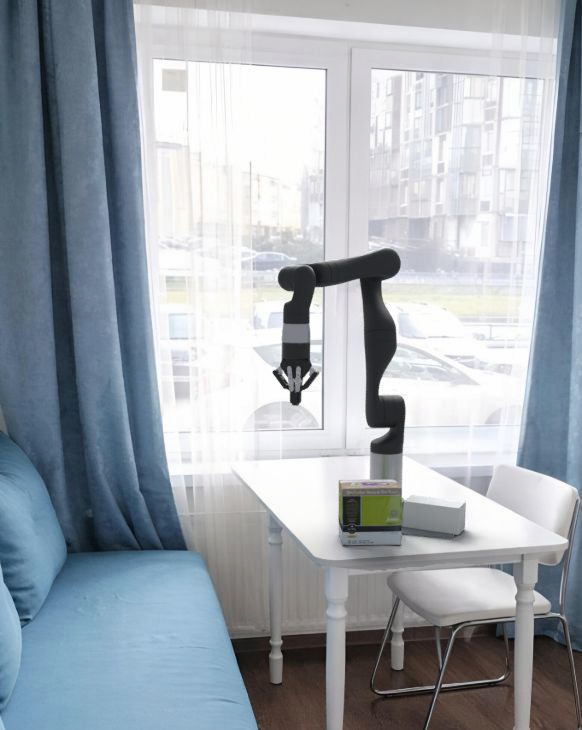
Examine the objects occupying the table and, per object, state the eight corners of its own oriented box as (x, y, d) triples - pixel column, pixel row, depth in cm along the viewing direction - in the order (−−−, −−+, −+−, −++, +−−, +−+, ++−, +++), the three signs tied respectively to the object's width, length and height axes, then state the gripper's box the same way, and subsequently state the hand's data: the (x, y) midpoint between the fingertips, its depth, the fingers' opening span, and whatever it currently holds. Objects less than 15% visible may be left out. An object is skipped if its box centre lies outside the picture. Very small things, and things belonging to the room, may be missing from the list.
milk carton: (458, 535, 213) (388, 524, 221) (465, 527, 219) (397, 518, 228) (459, 508, 212) (389, 498, 220) (466, 501, 218) (397, 492, 227)
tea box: (395, 533, 215) (396, 478, 213) (401, 546, 205) (403, 487, 203) (337, 533, 214) (338, 478, 213) (341, 546, 204) (342, 487, 203)
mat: (385, 520, 227) (385, 519, 226) (455, 526, 222) (455, 525, 221) (378, 532, 216) (378, 530, 216) (452, 538, 211) (452, 537, 211)
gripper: (323, 340, 221) (322, 404, 223) (276, 338, 225) (275, 402, 227) (317, 342, 214) (316, 408, 216) (268, 340, 218) (267, 406, 219)
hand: (295, 405), depth 221 cm, fingers closed
